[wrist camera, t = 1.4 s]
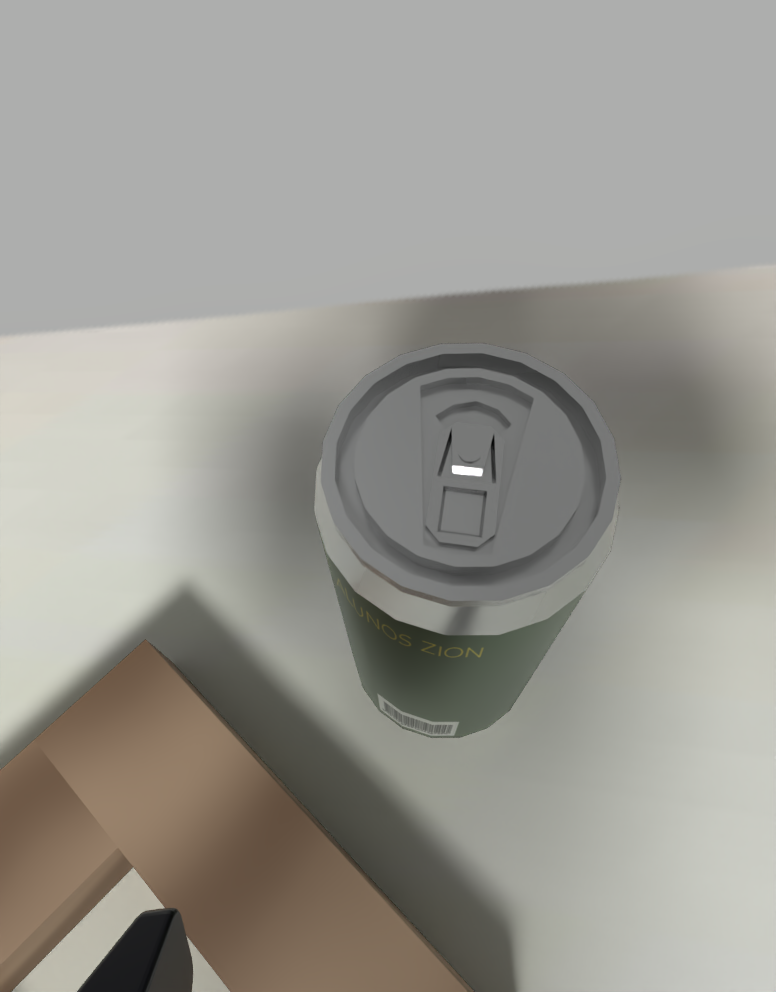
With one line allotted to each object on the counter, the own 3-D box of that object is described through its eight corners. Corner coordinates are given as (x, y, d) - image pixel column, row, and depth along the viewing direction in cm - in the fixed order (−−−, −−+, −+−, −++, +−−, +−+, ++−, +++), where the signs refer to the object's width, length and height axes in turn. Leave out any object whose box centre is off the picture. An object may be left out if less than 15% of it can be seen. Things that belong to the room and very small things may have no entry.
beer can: (521, 756, 21) (635, 642, 10) (341, 726, 21) (272, 589, 11) (533, 584, 23) (636, 349, 13) (371, 562, 24) (339, 317, 13)
